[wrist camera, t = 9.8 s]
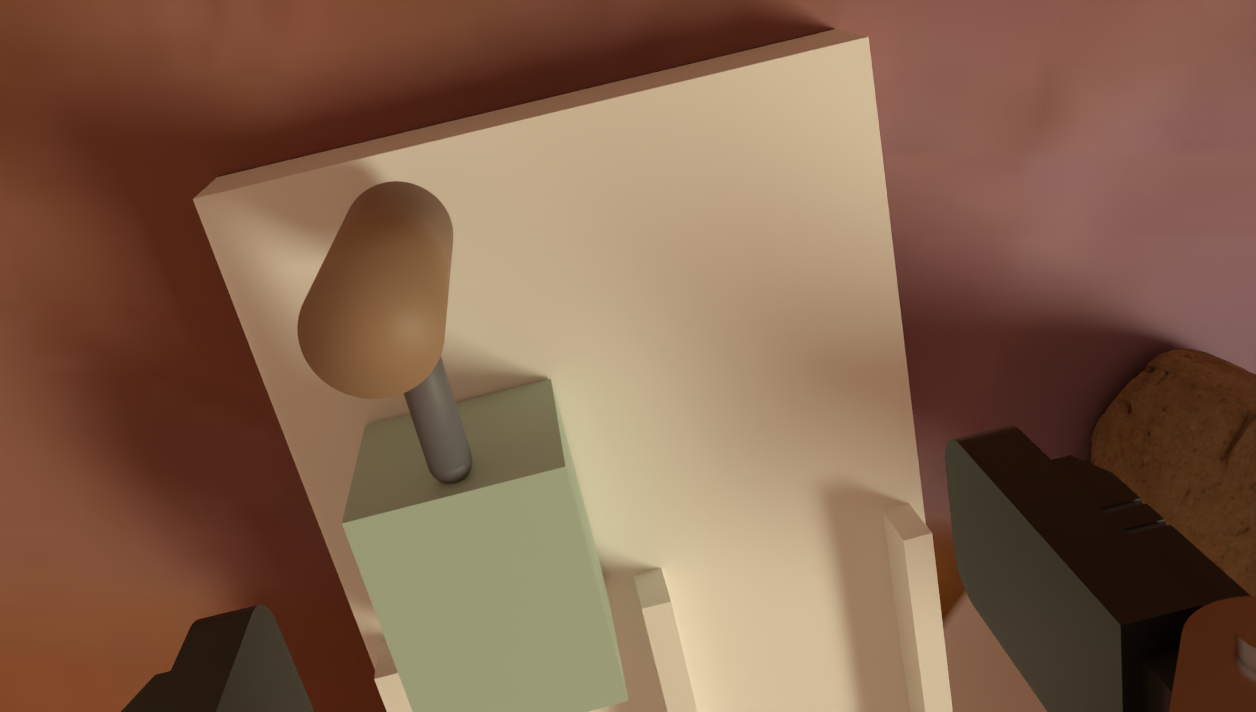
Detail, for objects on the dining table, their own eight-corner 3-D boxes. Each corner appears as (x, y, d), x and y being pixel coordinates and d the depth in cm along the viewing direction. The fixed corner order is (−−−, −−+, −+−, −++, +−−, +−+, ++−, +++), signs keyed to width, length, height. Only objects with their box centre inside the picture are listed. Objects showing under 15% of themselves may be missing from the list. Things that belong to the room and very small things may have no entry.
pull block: (285, 196, 30) (203, 301, 21) (489, 146, 30) (493, 230, 21) (436, 628, 36) (422, 850, 27) (606, 584, 36) (646, 790, 27)
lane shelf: (217, 177, 32) (139, 246, 25) (835, 29, 33) (938, 53, 26) (486, 896, 45) (487, 1085, 37) (932, 775, 46) (1019, 935, 38)
